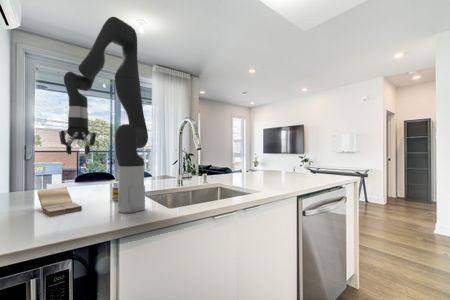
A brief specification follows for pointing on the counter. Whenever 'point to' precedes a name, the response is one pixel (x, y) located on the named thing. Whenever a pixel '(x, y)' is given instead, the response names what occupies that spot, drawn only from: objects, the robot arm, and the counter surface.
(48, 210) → the brown flat square block
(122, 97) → the robot arm
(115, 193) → the supplement bottle
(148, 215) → the counter surface
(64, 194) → the oak plank
